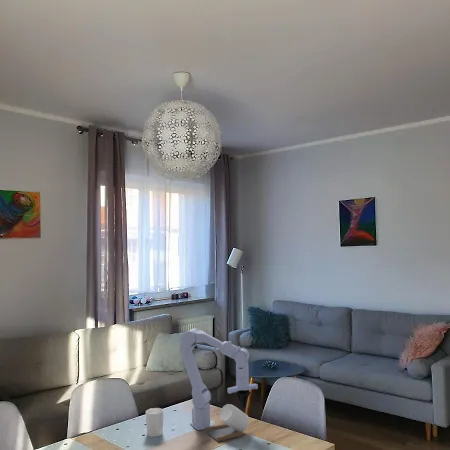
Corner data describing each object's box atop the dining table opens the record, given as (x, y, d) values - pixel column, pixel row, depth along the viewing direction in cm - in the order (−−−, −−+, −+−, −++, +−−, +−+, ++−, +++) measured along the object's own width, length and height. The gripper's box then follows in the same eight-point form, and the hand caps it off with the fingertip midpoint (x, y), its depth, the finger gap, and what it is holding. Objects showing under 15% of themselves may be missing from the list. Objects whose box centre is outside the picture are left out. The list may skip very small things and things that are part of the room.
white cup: (167, 432, 205) (166, 409, 206) (157, 438, 198) (157, 414, 198) (152, 429, 208) (152, 407, 209) (142, 436, 201) (142, 412, 202)
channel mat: (205, 431, 204) (205, 427, 204) (228, 426, 209) (228, 422, 210) (217, 442, 193) (217, 437, 193) (242, 436, 198) (242, 432, 198)
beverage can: (250, 430, 200) (233, 418, 194) (235, 434, 203) (218, 424, 197) (249, 412, 206) (233, 400, 200) (235, 417, 209) (219, 406, 203)
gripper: (232, 380, 200) (232, 412, 199) (260, 376, 207) (261, 407, 206) (225, 377, 207) (225, 407, 206) (253, 372, 213) (253, 402, 212)
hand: (243, 407), depth 206 cm, fingers closed
